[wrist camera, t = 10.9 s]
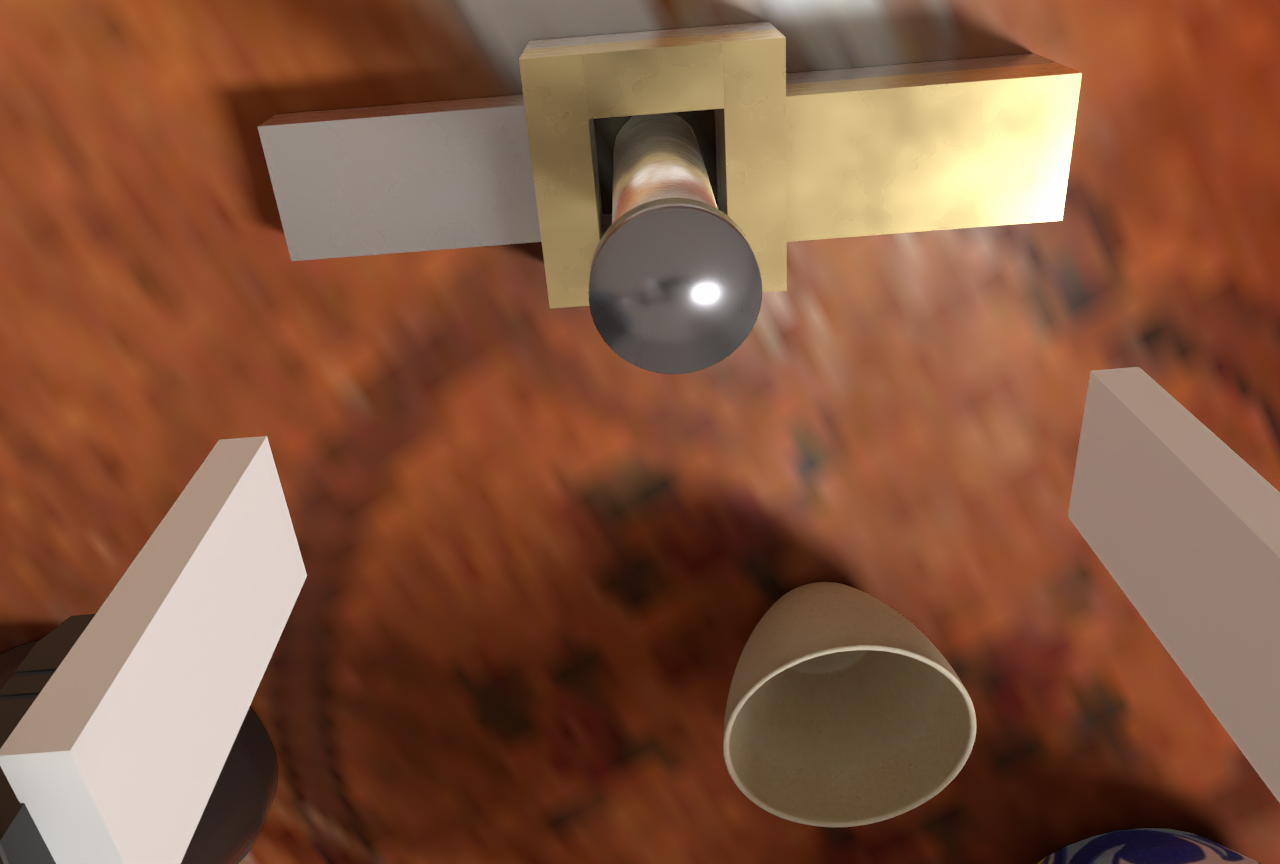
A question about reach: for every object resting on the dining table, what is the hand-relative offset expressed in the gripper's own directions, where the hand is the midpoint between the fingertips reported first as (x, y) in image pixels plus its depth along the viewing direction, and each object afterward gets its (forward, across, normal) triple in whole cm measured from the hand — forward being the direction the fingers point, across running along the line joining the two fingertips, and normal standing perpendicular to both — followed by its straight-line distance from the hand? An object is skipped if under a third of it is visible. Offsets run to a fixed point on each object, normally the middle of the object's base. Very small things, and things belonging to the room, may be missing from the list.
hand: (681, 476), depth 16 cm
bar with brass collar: (+22, +1, 0) cm, 22 cm away
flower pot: (+22, +7, -22) cm, 32 cm away
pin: (+22, 0, 0) cm, 22 cm away
